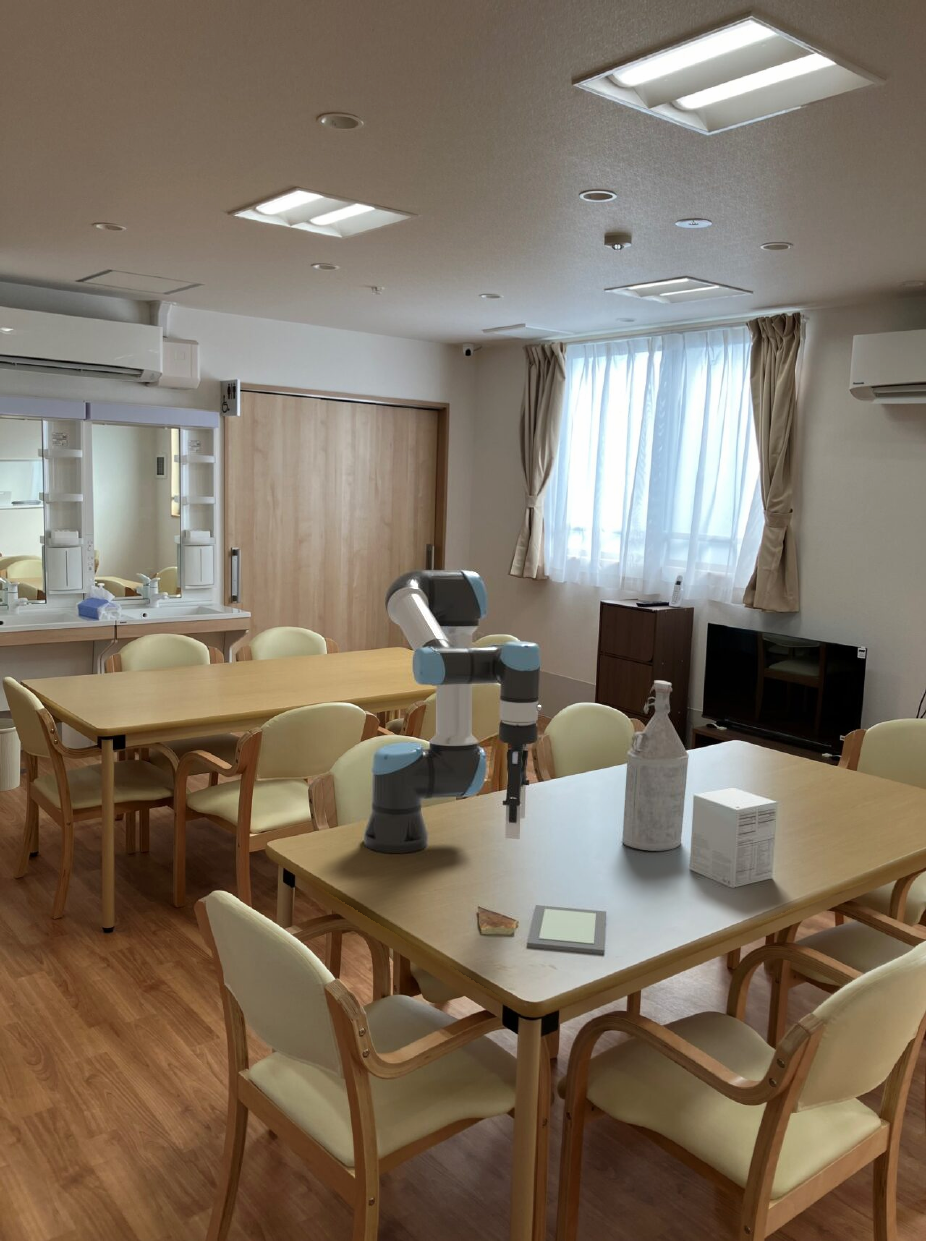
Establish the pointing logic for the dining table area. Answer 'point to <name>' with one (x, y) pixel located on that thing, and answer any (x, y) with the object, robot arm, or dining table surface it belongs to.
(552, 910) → the mat
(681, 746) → the grey stoneware bottle
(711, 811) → the supplement box
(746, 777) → the dining table surface
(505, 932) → the shard
